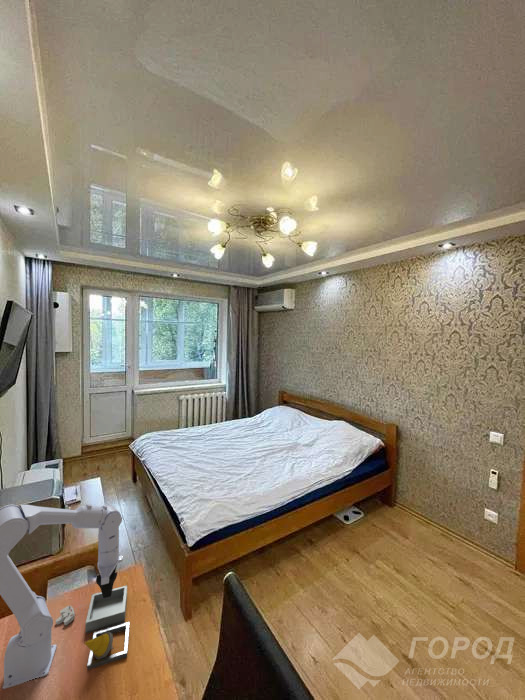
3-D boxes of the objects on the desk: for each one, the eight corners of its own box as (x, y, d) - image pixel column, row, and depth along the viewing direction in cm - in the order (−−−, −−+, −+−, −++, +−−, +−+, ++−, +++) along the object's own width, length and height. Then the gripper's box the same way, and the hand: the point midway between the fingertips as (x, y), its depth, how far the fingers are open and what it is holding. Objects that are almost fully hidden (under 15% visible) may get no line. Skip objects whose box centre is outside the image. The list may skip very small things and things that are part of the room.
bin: (85, 634, 86) (85, 622, 86) (92, 604, 96) (92, 594, 96) (124, 622, 90) (124, 611, 90) (127, 595, 100) (127, 585, 100)
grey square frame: (87, 671, 77) (87, 666, 77) (93, 637, 86) (93, 632, 86) (127, 657, 80) (127, 652, 80) (129, 626, 89) (129, 621, 89)
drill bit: (112, 663, 80) (83, 660, 74) (101, 656, 82) (72, 653, 77) (123, 636, 83) (96, 631, 78) (112, 631, 86) (85, 626, 80)
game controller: (51, 622, 90) (51, 614, 90) (87, 594, 100) (87, 586, 100) (63, 630, 88) (63, 621, 87) (98, 600, 98) (98, 592, 98)
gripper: (120, 559, 85) (120, 604, 85) (124, 529, 99) (124, 569, 99) (92, 565, 83) (92, 612, 83) (101, 534, 96) (101, 574, 96)
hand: (108, 589), depth 91 cm, fingers open, 5 cm apart
